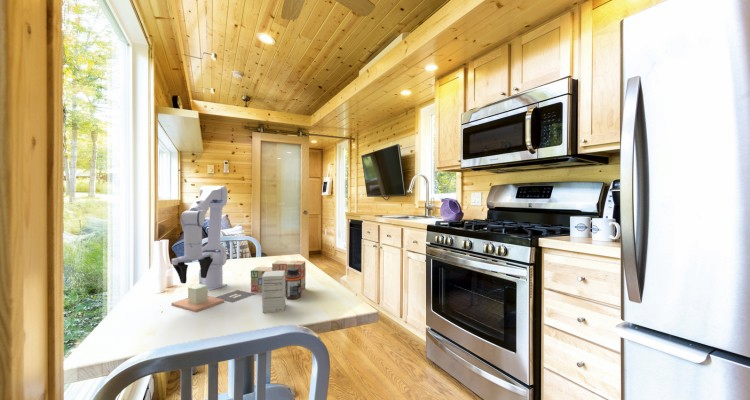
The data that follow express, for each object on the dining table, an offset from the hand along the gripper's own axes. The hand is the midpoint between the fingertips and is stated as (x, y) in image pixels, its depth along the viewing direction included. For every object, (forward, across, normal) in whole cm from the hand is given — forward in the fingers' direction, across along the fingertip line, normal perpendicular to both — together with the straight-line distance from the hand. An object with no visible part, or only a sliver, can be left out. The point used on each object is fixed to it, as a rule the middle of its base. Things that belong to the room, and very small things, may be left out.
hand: (193, 280), depth 115 cm
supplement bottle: (+9, +23, -27) cm, 37 cm away
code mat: (+9, +13, -6) cm, 17 cm away
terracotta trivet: (+9, +1, -1) cm, 9 cm away
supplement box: (+9, +10, -29) cm, 32 cm away
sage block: (+8, +1, -1) cm, 8 cm away
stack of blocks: (+9, +26, -16) cm, 32 cm away
